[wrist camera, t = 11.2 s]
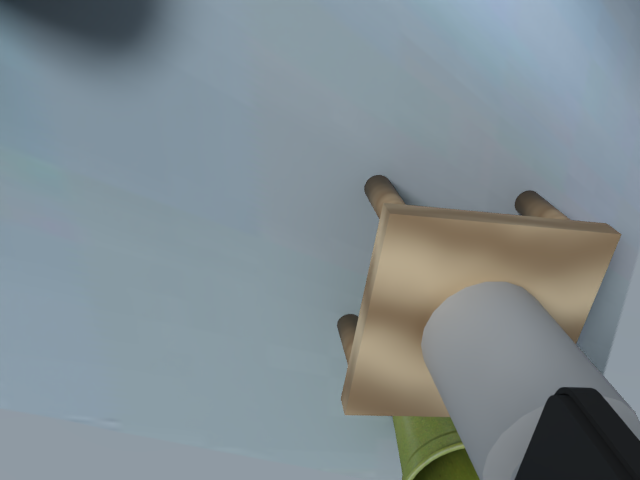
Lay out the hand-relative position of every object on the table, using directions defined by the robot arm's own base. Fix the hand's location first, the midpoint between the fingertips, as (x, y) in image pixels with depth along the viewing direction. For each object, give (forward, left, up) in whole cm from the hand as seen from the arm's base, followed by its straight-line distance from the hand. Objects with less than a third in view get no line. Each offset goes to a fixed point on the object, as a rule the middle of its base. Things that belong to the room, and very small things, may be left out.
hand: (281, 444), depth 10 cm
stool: (+11, +15, -28) cm, 34 cm away
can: (+11, +15, -20) cm, 27 cm away
